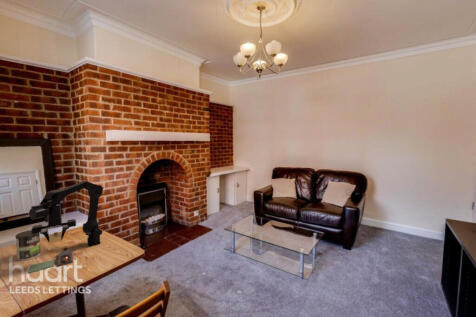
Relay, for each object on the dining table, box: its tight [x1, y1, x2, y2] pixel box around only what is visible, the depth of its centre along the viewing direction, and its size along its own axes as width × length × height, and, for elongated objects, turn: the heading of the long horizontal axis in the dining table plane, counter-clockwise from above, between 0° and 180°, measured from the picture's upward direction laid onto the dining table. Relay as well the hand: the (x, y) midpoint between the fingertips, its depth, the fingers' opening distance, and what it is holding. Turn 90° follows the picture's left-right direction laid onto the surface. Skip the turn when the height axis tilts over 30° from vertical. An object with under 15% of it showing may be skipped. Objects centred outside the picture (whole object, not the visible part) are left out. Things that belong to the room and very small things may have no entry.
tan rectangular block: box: [48, 231, 62, 244], centre depth 121 cm, size 7×5×3 cm
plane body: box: [57, 245, 74, 267], centre depth 125 cm, size 15×6×5 cm, turn 38°
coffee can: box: [14, 229, 42, 262], centre depth 128 cm, size 10×10×14 cm
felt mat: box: [28, 259, 55, 274], centre depth 118 cm, size 10×8×1 cm
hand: (55, 240), depth 121 cm, fingers closed on tan rectangular block, 5 cm apart
